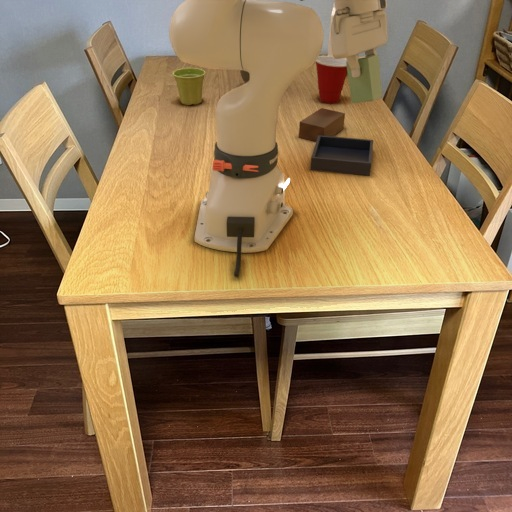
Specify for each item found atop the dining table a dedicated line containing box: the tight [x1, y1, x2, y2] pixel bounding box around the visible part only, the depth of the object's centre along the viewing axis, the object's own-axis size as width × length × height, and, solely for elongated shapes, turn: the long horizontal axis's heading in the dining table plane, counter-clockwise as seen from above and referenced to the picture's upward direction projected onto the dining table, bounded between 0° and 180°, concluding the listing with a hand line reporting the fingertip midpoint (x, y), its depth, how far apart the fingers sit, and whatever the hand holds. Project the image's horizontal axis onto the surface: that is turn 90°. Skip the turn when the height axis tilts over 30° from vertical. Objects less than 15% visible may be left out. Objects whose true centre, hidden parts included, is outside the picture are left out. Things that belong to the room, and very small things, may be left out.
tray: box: [309, 135, 374, 177], centre depth 130 cm, size 13×13×3 cm
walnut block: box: [298, 107, 346, 143], centre depth 143 cm, size 7×12×4 cm, turn 147°
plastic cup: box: [315, 55, 348, 104], centre depth 162 cm, size 11×11×12 cm
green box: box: [346, 53, 384, 104], centre depth 121 cm, size 10×5×10 cm, turn 53°
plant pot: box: [172, 67, 206, 106], centre depth 161 cm, size 9×9×9 cm
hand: (364, 73), depth 121 cm, fingers closed on green box, 5 cm apart
